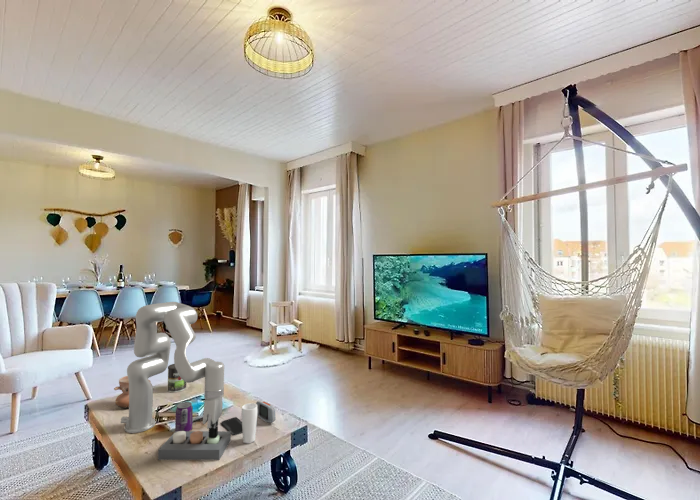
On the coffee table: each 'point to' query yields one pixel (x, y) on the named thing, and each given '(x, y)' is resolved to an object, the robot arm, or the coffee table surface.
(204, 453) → the grey slotted block
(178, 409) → the beverage can
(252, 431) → the drinking glass
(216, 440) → the button sage
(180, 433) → the button ivory
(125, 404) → the ceramic jug
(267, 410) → the handheld gaming console
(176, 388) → the coffee can
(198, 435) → the button terracotta
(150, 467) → the coffee table surface
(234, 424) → the phone
